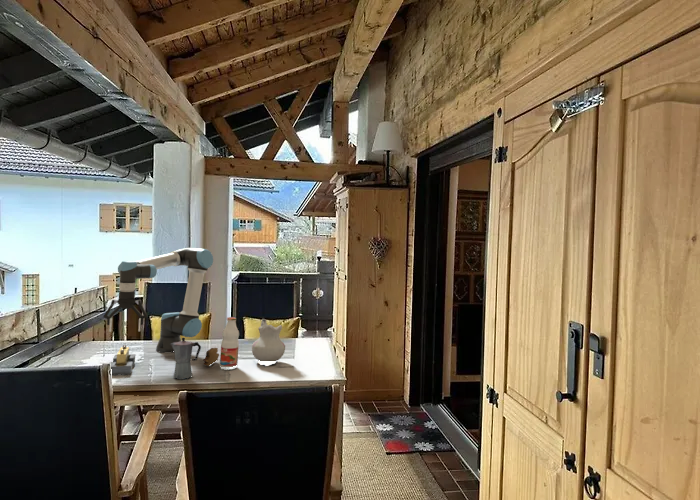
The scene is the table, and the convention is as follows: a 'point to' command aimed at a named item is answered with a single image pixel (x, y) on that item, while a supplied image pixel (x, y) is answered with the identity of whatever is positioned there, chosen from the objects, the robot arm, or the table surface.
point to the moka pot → (184, 358)
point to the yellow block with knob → (123, 356)
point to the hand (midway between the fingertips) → (124, 331)
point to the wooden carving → (211, 356)
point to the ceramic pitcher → (268, 343)
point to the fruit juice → (229, 344)
